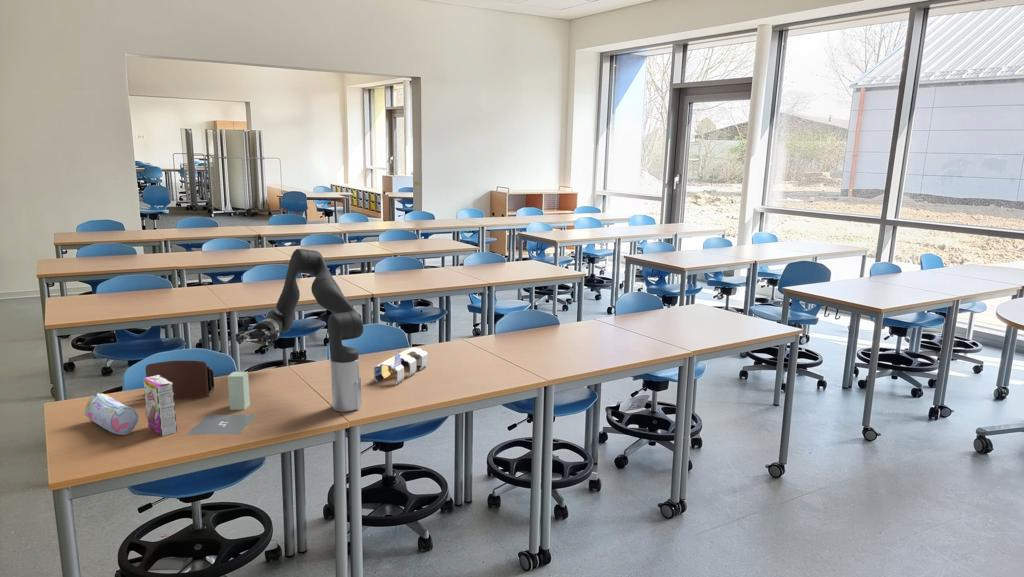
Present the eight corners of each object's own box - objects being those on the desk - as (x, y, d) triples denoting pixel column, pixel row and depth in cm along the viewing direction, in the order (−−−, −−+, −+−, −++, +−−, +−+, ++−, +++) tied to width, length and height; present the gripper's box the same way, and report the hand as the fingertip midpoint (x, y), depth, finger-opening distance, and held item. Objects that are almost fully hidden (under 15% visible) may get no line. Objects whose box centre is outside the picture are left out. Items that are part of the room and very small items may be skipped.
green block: (250, 405, 226) (247, 371, 224) (244, 410, 221) (242, 376, 219) (235, 405, 226) (233, 371, 224) (229, 410, 221) (227, 376, 219)
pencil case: (85, 423, 209) (81, 394, 207) (114, 415, 216) (111, 387, 214) (111, 440, 196) (108, 410, 194) (142, 431, 203) (139, 402, 201)
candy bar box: (147, 427, 206) (142, 377, 203) (163, 423, 209) (159, 374, 206) (161, 437, 199) (156, 386, 195) (178, 432, 202) (173, 382, 199)
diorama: (397, 386, 248) (397, 352, 245) (374, 382, 251) (373, 349, 249) (427, 367, 271) (427, 336, 269) (405, 364, 274) (405, 334, 272)
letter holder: (208, 398, 233) (205, 360, 230) (147, 401, 228) (143, 362, 226) (214, 388, 242) (212, 352, 239) (156, 392, 238) (152, 354, 235)
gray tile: (256, 415, 217) (256, 414, 217) (239, 434, 201) (239, 434, 201) (207, 415, 216) (207, 414, 216) (186, 435, 200) (186, 434, 200)
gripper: (246, 320, 245) (229, 330, 229) (284, 320, 246) (270, 329, 230) (247, 340, 246) (231, 351, 230) (285, 339, 247) (272, 350, 231)
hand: (251, 340), depth 230 cm, fingers open, 8 cm apart
